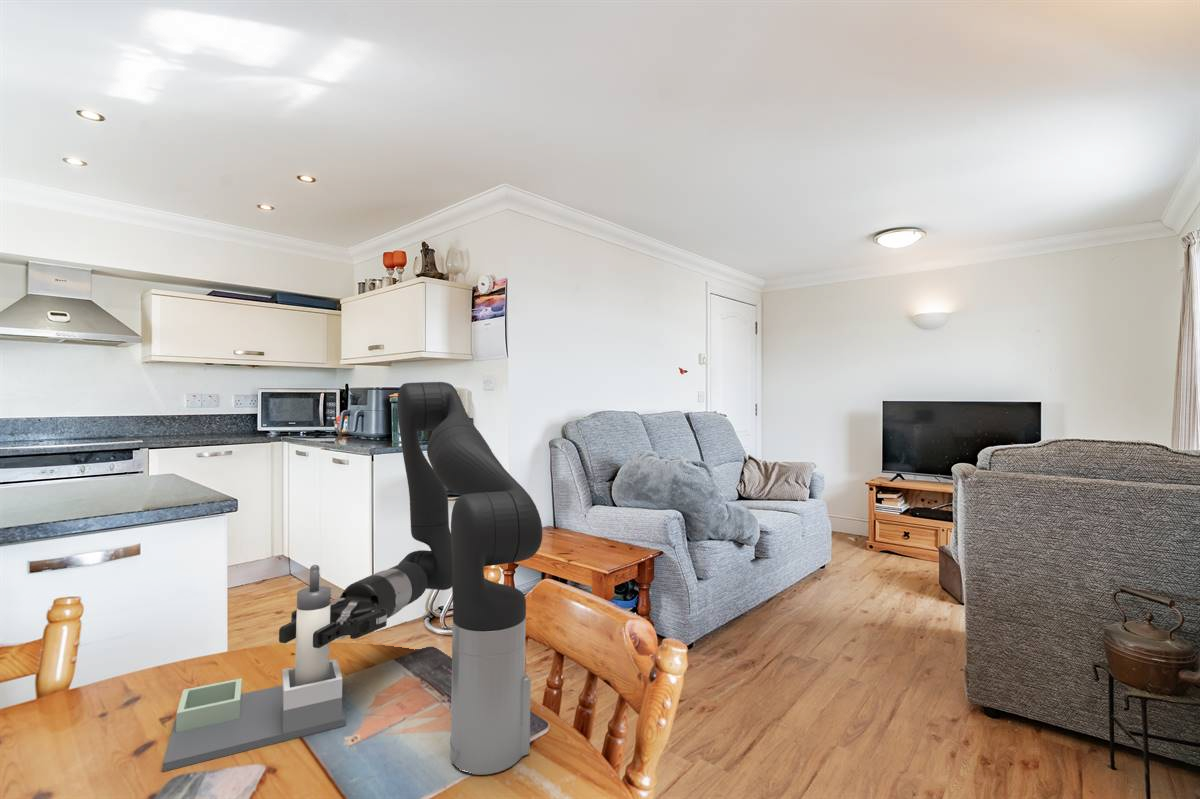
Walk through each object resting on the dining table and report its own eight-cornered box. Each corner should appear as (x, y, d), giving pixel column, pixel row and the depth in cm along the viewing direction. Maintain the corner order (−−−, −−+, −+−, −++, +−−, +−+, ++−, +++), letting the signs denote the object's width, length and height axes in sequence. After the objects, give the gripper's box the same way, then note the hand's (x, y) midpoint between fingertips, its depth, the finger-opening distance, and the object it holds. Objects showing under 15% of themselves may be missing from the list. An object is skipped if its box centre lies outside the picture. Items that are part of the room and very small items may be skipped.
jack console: (334, 680, 90) (335, 639, 90) (345, 725, 77) (346, 678, 78) (178, 713, 80) (179, 667, 80) (162, 771, 67) (164, 717, 67)
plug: (327, 682, 81) (330, 559, 82) (329, 695, 78) (332, 566, 78) (293, 689, 79) (297, 563, 80) (295, 702, 76) (298, 570, 76)
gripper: (340, 570, 94) (255, 605, 78) (416, 578, 91) (344, 616, 74) (339, 615, 94) (253, 659, 78) (415, 625, 91) (342, 673, 74)
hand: (298, 638), depth 76 cm, fingers open, 5 cm apart
